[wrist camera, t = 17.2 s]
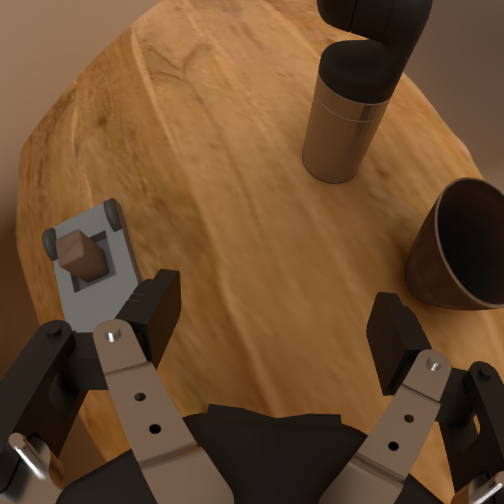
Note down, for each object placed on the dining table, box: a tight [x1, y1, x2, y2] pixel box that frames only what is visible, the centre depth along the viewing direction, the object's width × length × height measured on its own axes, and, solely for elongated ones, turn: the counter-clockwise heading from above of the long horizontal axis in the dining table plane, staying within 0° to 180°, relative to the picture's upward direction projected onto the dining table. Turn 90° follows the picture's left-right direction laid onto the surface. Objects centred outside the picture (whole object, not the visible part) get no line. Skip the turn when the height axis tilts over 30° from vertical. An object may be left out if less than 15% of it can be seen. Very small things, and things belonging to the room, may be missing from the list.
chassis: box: [42, 198, 142, 333], centre depth 40 cm, size 22×12×5 cm, turn 24°
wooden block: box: [55, 229, 108, 282], centre depth 39 cm, size 4×4×8 cm
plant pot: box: [405, 177, 504, 310], centre depth 35 cm, size 15×15×16 cm
